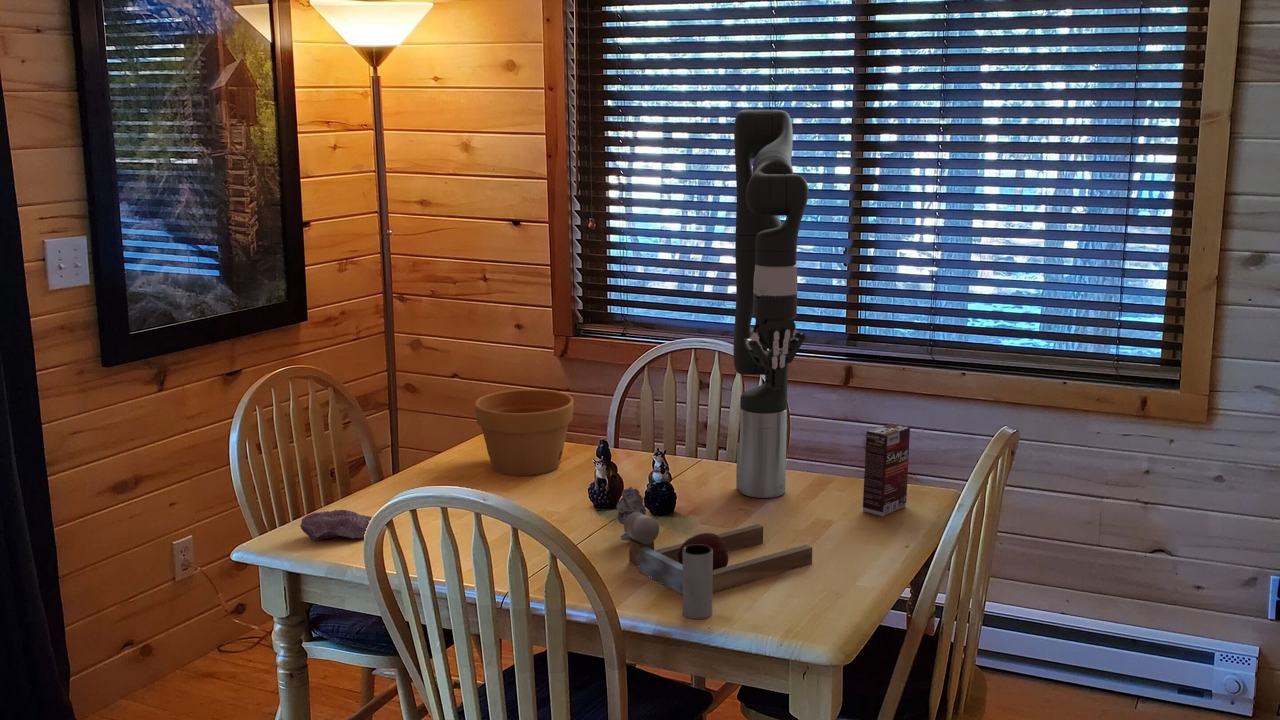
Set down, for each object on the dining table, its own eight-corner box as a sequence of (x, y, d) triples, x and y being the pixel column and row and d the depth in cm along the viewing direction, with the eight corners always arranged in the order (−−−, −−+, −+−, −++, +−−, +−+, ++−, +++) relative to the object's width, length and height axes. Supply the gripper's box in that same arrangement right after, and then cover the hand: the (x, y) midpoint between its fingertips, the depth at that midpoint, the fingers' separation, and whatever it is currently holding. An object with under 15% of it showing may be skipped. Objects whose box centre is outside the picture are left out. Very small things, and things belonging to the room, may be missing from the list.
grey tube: (708, 606, 183) (709, 542, 181) (715, 618, 179) (715, 553, 177) (679, 608, 183) (680, 544, 181) (685, 620, 178) (685, 555, 176)
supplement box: (883, 517, 224) (886, 435, 220) (861, 511, 227) (864, 431, 224) (908, 506, 230) (911, 426, 227) (886, 501, 233) (889, 422, 230)
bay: (622, 562, 202) (621, 515, 200) (739, 532, 216) (740, 488, 214) (690, 599, 186) (690, 548, 185) (811, 564, 200) (813, 516, 199)
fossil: (298, 535, 216) (296, 508, 215) (377, 526, 221) (376, 499, 220) (303, 550, 208) (301, 521, 208) (384, 540, 214) (383, 512, 213)
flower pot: (557, 484, 245) (556, 414, 242) (461, 477, 250) (459, 409, 247) (586, 456, 265) (585, 391, 262) (497, 450, 270) (495, 386, 267)
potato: (672, 568, 199) (672, 529, 198) (721, 564, 201) (721, 524, 199) (684, 585, 192) (684, 544, 191) (734, 580, 194) (734, 539, 192)
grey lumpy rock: (633, 547, 209) (632, 493, 207) (611, 540, 212) (610, 486, 210) (653, 540, 212) (653, 486, 210) (632, 532, 216) (631, 480, 214)
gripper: (789, 285, 213) (787, 380, 216) (731, 291, 205) (730, 389, 209) (818, 290, 207) (816, 387, 210) (760, 296, 199) (758, 397, 203)
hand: (773, 388), depth 209 cm, fingers closed
